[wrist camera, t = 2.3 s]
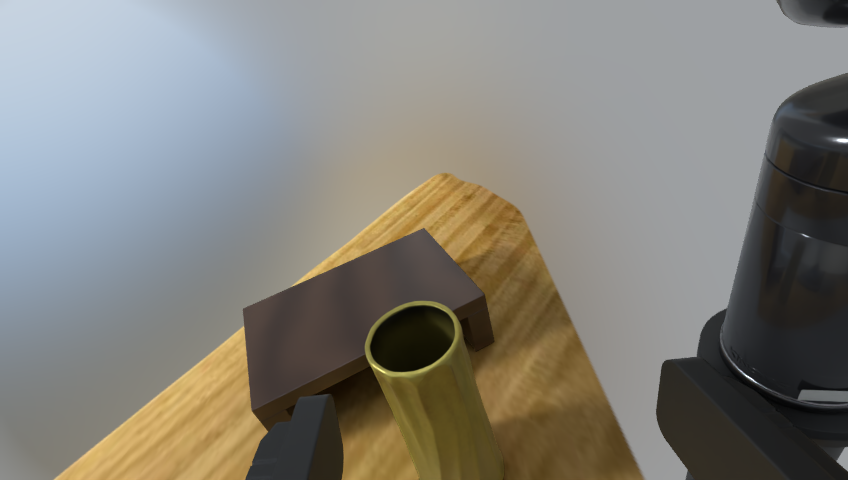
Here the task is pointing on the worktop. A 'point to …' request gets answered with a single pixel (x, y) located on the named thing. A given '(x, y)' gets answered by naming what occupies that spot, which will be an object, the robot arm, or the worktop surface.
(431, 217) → the worktop surface
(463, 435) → the vase
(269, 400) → the shelf
